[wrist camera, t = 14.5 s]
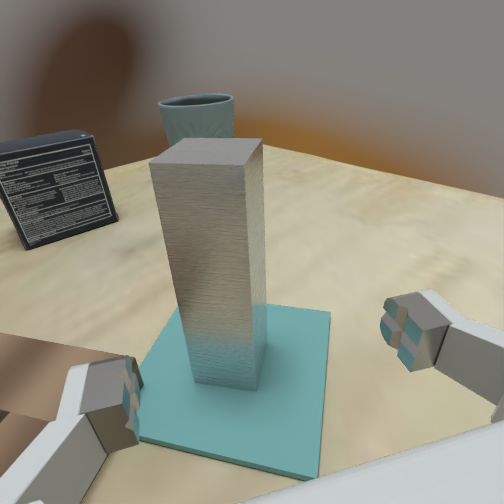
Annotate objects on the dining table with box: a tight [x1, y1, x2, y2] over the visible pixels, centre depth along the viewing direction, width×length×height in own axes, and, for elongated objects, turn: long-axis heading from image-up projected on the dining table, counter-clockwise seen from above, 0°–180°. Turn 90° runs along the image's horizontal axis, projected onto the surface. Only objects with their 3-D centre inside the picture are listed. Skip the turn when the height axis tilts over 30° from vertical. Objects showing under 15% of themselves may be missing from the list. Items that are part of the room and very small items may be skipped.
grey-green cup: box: [158, 94, 234, 148], centre depth 49 cm, size 10×10×12 cm
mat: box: [136, 304, 330, 481], centre depth 23 cm, size 12×12×1 cm
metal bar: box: [149, 138, 267, 392], centre depth 19 cm, size 4×4×14 cm
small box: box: [0, 129, 119, 250], centre depth 39 cm, size 11×6×10 cm, turn 129°
